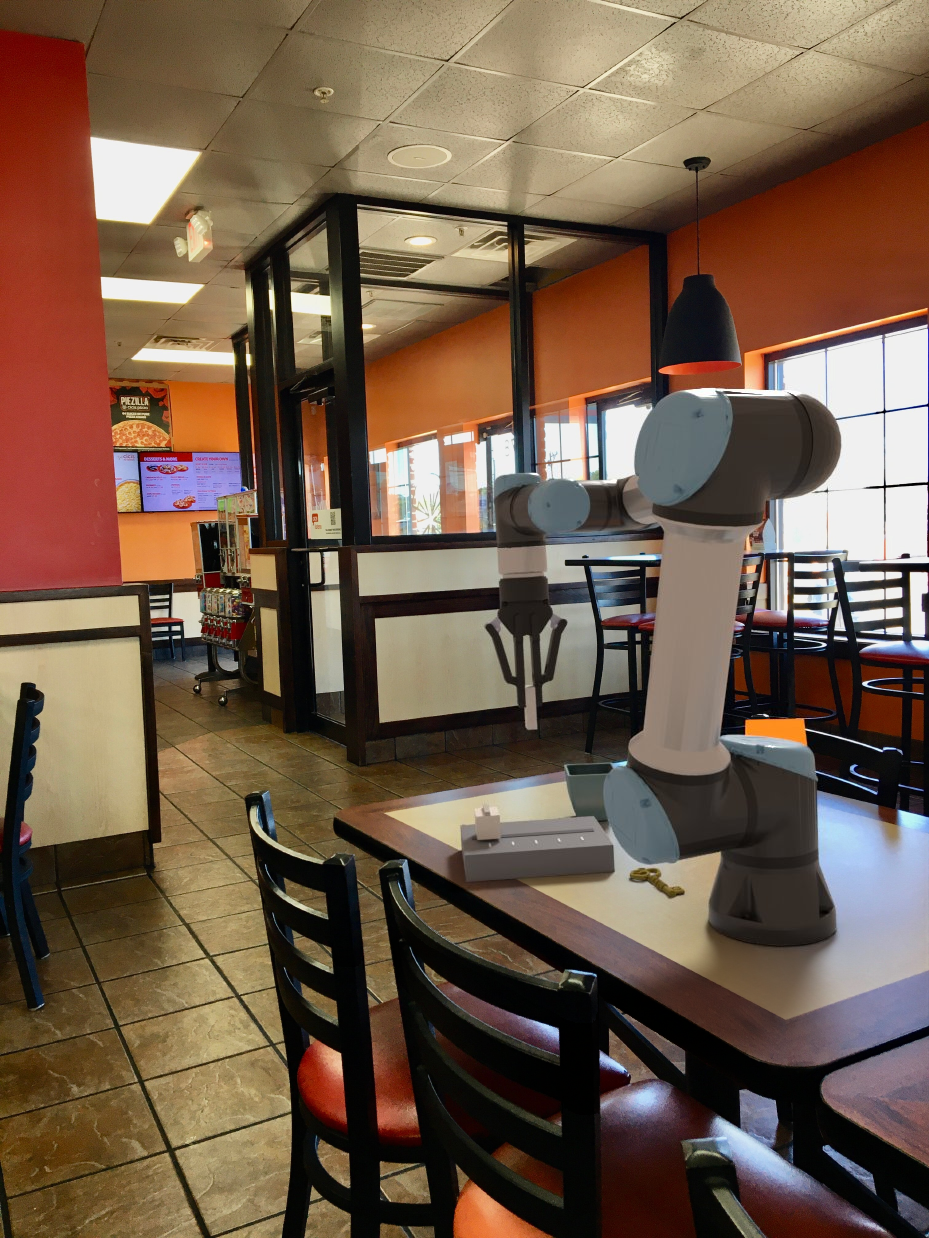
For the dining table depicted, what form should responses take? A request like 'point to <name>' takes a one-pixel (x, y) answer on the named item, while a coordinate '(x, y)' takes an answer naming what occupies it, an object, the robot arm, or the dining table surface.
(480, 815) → the slider cap
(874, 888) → the dining table surface
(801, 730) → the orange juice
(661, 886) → the key
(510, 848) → the dimmer console
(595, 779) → the flower pot
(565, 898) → the dining table surface
